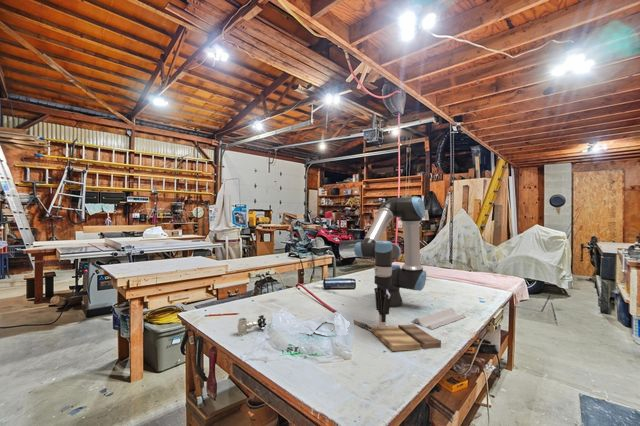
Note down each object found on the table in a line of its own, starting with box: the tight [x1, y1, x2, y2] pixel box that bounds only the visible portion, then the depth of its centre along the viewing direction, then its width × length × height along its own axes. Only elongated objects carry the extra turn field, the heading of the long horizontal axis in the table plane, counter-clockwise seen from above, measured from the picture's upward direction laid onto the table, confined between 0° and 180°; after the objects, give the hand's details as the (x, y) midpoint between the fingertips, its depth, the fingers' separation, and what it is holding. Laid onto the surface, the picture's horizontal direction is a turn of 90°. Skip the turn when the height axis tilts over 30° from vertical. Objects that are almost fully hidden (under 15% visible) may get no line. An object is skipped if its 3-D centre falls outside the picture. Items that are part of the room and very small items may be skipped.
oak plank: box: [371, 325, 421, 352], centre depth 122 cm, size 20×12×2 cm, turn 14°
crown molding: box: [411, 307, 467, 330], centre depth 148 cm, size 31×12×4 cm, turn 126°
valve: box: [237, 314, 267, 337], centre depth 127 cm, size 7×7×12 cm
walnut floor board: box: [397, 323, 442, 350], centre depth 124 cm, size 20×8×2 cm, turn 14°
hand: (382, 328), depth 128 cm, fingers closed
